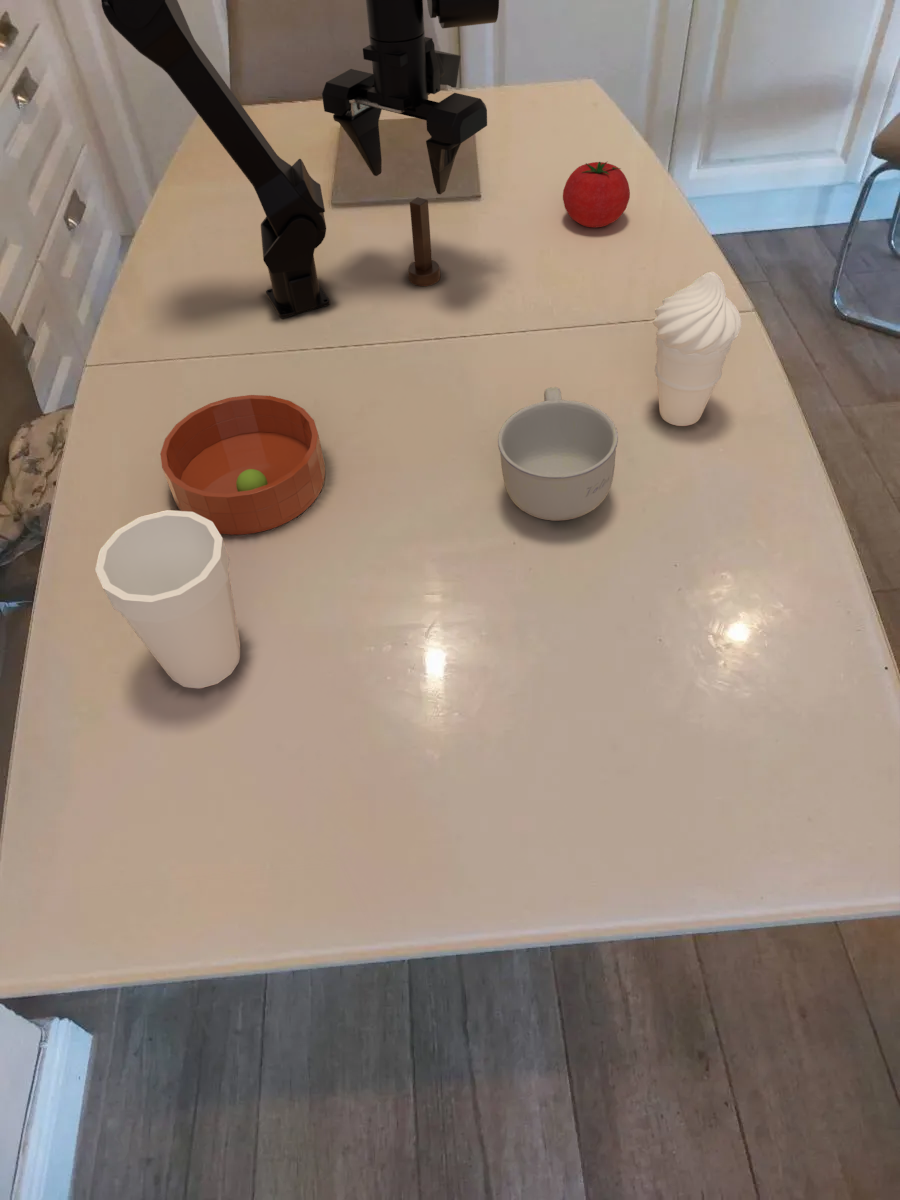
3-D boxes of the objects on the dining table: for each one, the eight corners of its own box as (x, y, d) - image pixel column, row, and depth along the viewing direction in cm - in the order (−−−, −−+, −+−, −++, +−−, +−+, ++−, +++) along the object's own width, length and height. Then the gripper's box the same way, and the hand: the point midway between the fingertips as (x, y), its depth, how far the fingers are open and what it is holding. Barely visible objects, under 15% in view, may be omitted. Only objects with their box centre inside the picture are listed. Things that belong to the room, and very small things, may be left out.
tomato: (637, 214, 124) (644, 154, 118) (609, 243, 119) (614, 183, 113) (580, 200, 127) (583, 141, 121) (549, 228, 123) (552, 168, 116)
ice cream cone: (671, 449, 92) (696, 308, 80) (624, 405, 97) (640, 266, 85) (737, 422, 95) (771, 281, 82) (687, 380, 100) (713, 242, 87)
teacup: (605, 543, 84) (612, 479, 78) (489, 530, 86) (488, 466, 80) (617, 446, 93) (625, 381, 87) (513, 437, 95) (513, 372, 89)
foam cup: (156, 620, 81) (107, 515, 71) (260, 610, 81) (226, 504, 71) (142, 709, 75) (86, 608, 65) (254, 698, 75) (216, 595, 65)
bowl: (159, 460, 95) (145, 422, 91) (298, 417, 99) (290, 378, 95) (195, 555, 86) (180, 517, 82) (346, 503, 89) (339, 464, 86)
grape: (229, 470, 88) (239, 497, 87) (258, 459, 88) (269, 486, 87) (235, 483, 90) (245, 509, 90) (263, 472, 91) (274, 498, 90)
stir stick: (402, 280, 116) (395, 204, 108) (421, 266, 118) (415, 190, 110) (427, 289, 114) (422, 212, 107) (446, 275, 116) (442, 198, 109)
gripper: (515, 22, 94) (514, 173, 106) (373, -5, 101) (387, 140, 113) (454, 58, 88) (460, 214, 100) (308, 27, 96) (330, 176, 108)
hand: (408, 183), depth 105 cm, fingers open, 9 cm apart
